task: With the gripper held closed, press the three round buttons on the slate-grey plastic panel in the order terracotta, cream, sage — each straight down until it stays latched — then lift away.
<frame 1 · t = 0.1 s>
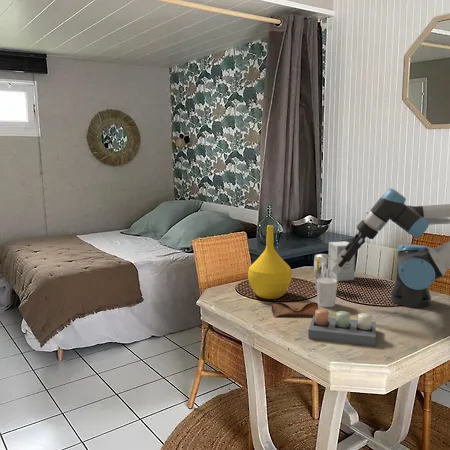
hand: (335, 267, 181), 15 cm above the table, tool tilted 35°, fingers open, 13 cm apart
supplement box: (340, 278, 221), on the table
white cup: (326, 305, 185), on the table
vase: (269, 295, 197), on the table
panel: (342, 334, 157), on the table
button terracotta: (321, 317, 158), point 5 cm above the table, slide at 0.0 cm
button cream: (364, 321, 153), point 5 cm above the table, slide at 0.0 cm
button sage: (342, 319, 156), point 5 cm above the table, slide at 0.0 cm
sunglasses case: (295, 315, 176), on the table
beer glass: (321, 289, 205), on the table
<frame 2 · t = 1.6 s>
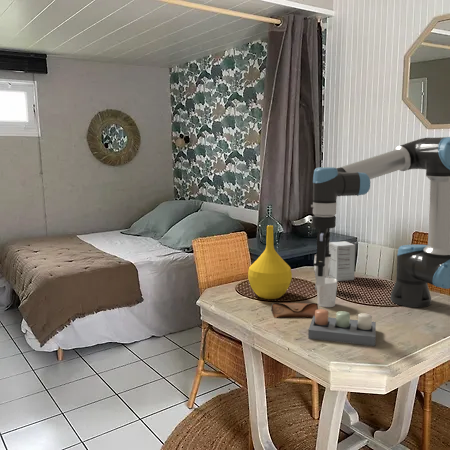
hand: (322, 280, 156), 18 cm above the table, tool pointing down, fingers open, 11 cm apart
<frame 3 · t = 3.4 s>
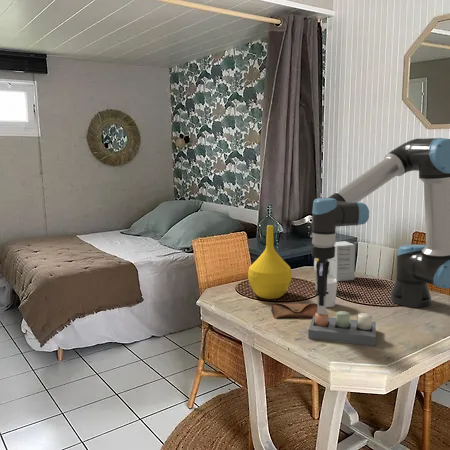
hand: (321, 313, 157), 7 cm above the table, tool pointing down, fingers closed
button terracotta: (321, 319, 158), point 4 cm above the table, slide at 1.0 cm
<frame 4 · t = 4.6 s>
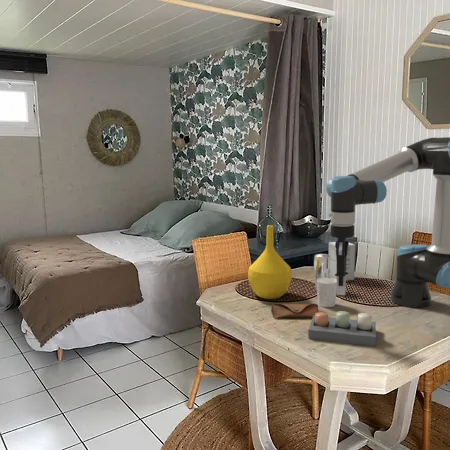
hand: (340, 294, 155), 14 cm above the table, tool pointing down, fingers closed
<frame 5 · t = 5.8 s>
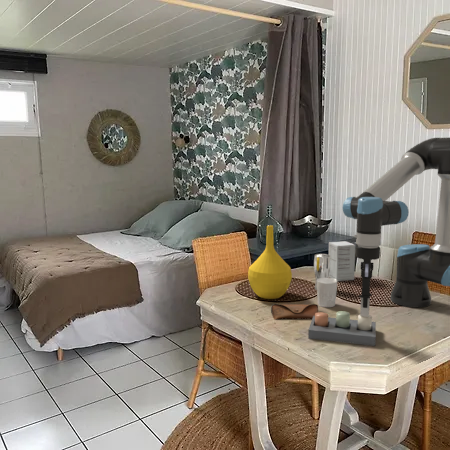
hand: (364, 315, 153), 7 cm above the table, tool pointing down, fingers closed
button cream: (364, 322, 154), point 5 cm above the table, slide at 0.3 cm, touching gripper
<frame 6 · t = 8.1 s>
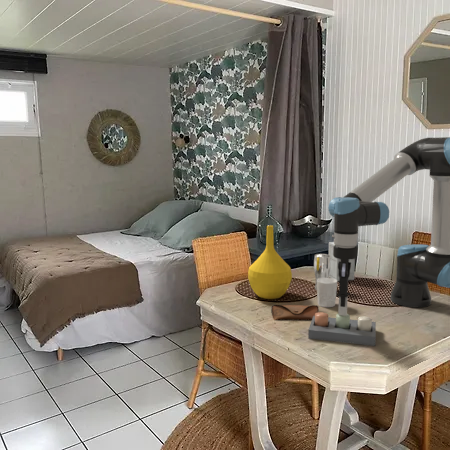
hand: (342, 314, 155), 7 cm above the table, tool pointing down, fingers closed
button cream: (364, 324, 154), point 4 cm above the table, slide at 1.1 cm
button sage: (342, 321, 156), point 5 cm above the table, slide at 0.7 cm, touching gripper
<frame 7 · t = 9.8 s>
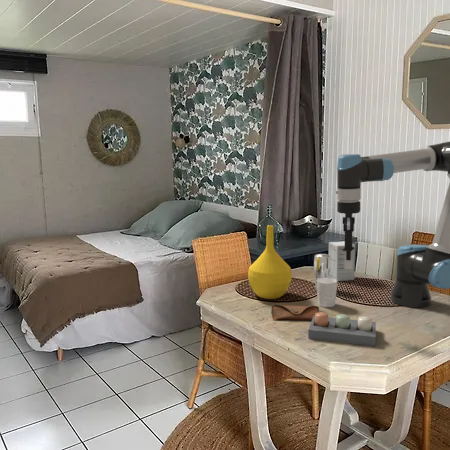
hand: (348, 268, 161), 20 cm above the table, tool pointing down, fingers closed
button sage: (342, 322, 156), point 4 cm above the table, slide at 1.1 cm
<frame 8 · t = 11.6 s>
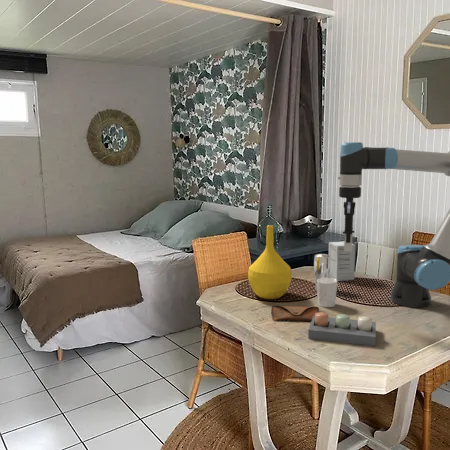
hand: (347, 250, 170), 24 cm above the table, tool pointing down, fingers closed
at the end: button terracotta slide at 1.1 cm; button cream slide at 1.1 cm; button sage slide at 1.1 cm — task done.
